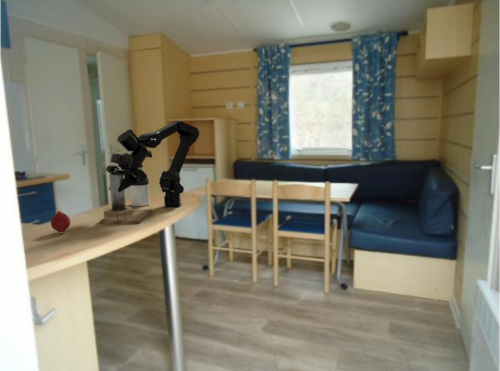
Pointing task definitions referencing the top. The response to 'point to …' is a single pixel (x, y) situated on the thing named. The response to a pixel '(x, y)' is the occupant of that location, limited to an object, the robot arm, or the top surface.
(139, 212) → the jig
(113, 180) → the chrome metal cylinder
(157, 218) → the top surface
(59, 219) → the pomegranate
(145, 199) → the jar
